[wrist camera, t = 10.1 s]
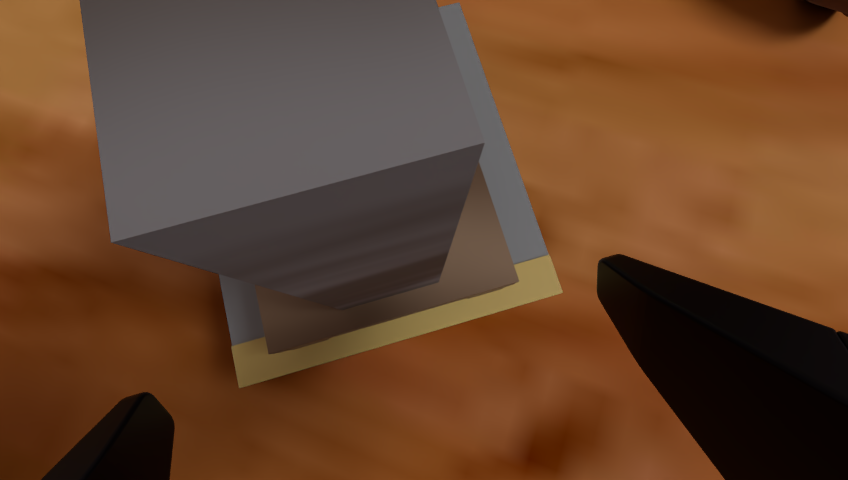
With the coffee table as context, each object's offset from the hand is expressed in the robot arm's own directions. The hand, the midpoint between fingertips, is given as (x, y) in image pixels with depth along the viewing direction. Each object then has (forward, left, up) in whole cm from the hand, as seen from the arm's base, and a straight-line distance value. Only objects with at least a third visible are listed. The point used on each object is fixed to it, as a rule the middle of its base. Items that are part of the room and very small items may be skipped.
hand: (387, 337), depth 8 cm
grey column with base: (+6, 0, -8) cm, 10 cm away
